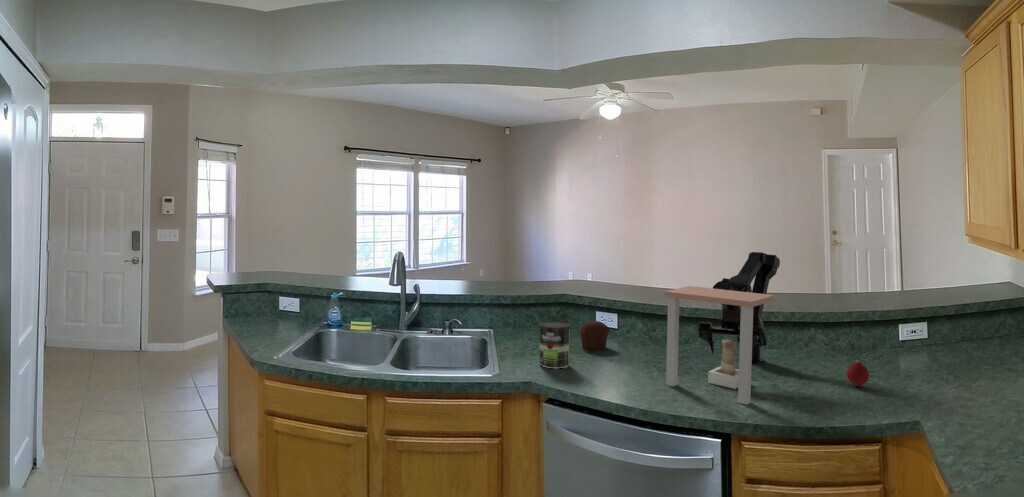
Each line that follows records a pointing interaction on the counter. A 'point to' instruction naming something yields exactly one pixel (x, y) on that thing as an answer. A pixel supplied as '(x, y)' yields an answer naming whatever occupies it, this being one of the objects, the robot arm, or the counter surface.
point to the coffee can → (554, 344)
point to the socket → (723, 378)
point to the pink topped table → (746, 329)
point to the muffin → (594, 335)
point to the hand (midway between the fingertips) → (728, 355)
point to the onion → (857, 373)
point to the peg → (728, 357)
